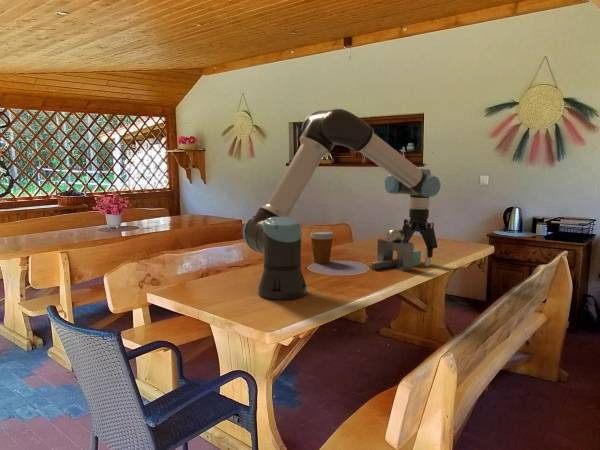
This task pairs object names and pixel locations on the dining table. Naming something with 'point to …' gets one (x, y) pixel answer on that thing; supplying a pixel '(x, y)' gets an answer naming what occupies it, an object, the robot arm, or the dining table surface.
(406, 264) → the housing
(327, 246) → the disposable coffee cup
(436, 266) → the dining table surface
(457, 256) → the dining table surface
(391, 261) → the mallet
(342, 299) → the dining table surface
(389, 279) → the dining table surface
